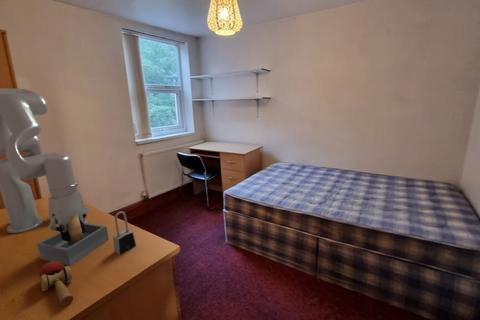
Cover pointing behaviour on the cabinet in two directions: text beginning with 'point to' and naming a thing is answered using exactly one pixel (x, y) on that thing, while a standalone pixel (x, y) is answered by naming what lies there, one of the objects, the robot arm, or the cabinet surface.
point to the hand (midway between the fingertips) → (74, 235)
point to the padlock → (123, 238)
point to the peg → (74, 230)
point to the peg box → (68, 254)
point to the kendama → (57, 280)
